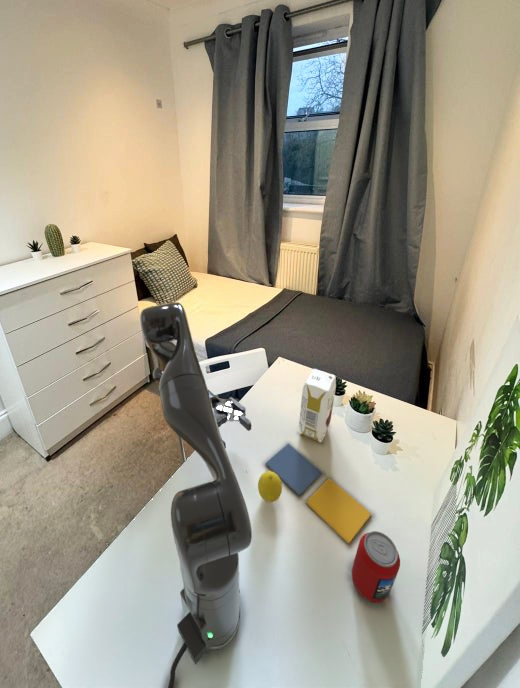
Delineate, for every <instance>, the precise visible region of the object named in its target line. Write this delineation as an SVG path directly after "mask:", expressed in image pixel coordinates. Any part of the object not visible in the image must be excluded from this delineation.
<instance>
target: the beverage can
mask: <svg viewBox="0 0 520 688" xmlns="http://www.w3.org/2000/svg"><path fill="white" fill-rule="evenodd" d="M400 567H401V557H400V554H399V551H398V549H397V546H396V545H395V543H394V541H393V540H392V538H390V537H389V536H388V535H386V534H385V533H383V532H380V531H376V530H373V531H370V532H366V533H364V534H363V535H362V536H361V537H360V539H359V542H358V545H357V549H356V552H355V556H354V560H353V563H352V568H351V579H352V581H353V582H352V583H353V585H354V587H355V588H356V590H357V591H358V593H359V595H361V596H362V597H363V598H364V599H366V600H368V601H369V602H372V603H377V604H380V603H383V602H385V601H386V600H387V599H388V597H389V595H390V593H391V591H392V589H393V586H394V583H395V581H396V578H397V576H398V573H399V570H400Z"/></svg>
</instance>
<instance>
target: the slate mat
mask: <svg viewBox="0 0 520 688" xmlns="http://www.w3.org/2000/svg"><path fill="white" fill-rule="evenodd" d="M265 465H266V467H268V468H269V469H270V471H272V472H274V473H276V474H277V475H278V476H279V478H280V480H281V481H282V482H283V483H284V484H285V485H287V487H289V489H291V491H293V492H294V493H295V494H296V495H297V497H300V496H301V495H302V494H303V493H304V492H306V490H307V489H308V488H310V486H311V485H312V484H313V483H314V482H315V481H316V480H317V479H318V478H320V476H321V475H322V474H323V471H321V470H320V469H319V468H318V467H317V466H316V465H314V464H313V463H312V462H311V461H310V460H308V459H307V458H306V457H305V456H304V455H302V453H300V452H299V451H298V450H297V449H296V448H294V447H293V446H292V445H291V444H290V443H287V444H286V445H285V446H284V447H282V448H281V449H280V450H279V451H278V452H276V453H275V454H274V455H272V457H271V458H270V459H268V460H267V461H266V462H265Z"/></svg>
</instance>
